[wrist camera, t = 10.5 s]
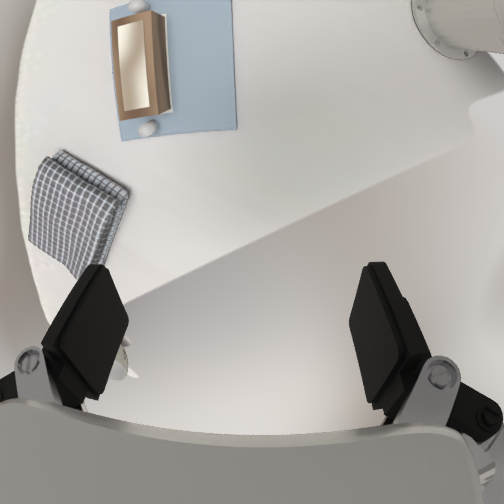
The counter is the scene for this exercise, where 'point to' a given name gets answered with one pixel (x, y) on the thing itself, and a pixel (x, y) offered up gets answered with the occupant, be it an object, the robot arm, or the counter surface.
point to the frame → (140, 65)
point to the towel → (74, 212)
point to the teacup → (119, 365)
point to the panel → (190, 68)
